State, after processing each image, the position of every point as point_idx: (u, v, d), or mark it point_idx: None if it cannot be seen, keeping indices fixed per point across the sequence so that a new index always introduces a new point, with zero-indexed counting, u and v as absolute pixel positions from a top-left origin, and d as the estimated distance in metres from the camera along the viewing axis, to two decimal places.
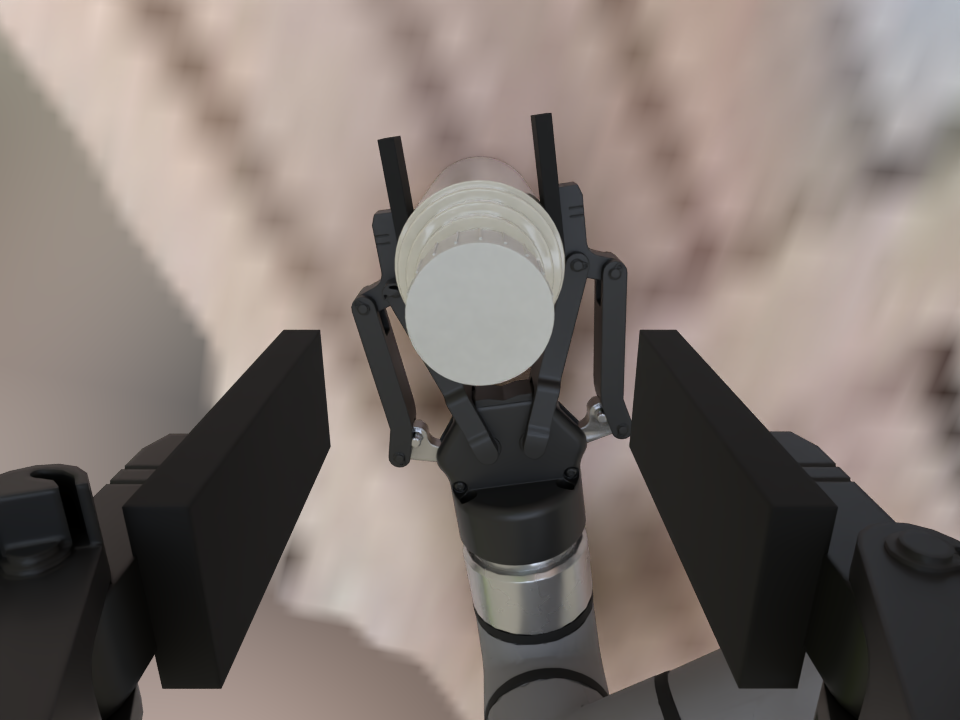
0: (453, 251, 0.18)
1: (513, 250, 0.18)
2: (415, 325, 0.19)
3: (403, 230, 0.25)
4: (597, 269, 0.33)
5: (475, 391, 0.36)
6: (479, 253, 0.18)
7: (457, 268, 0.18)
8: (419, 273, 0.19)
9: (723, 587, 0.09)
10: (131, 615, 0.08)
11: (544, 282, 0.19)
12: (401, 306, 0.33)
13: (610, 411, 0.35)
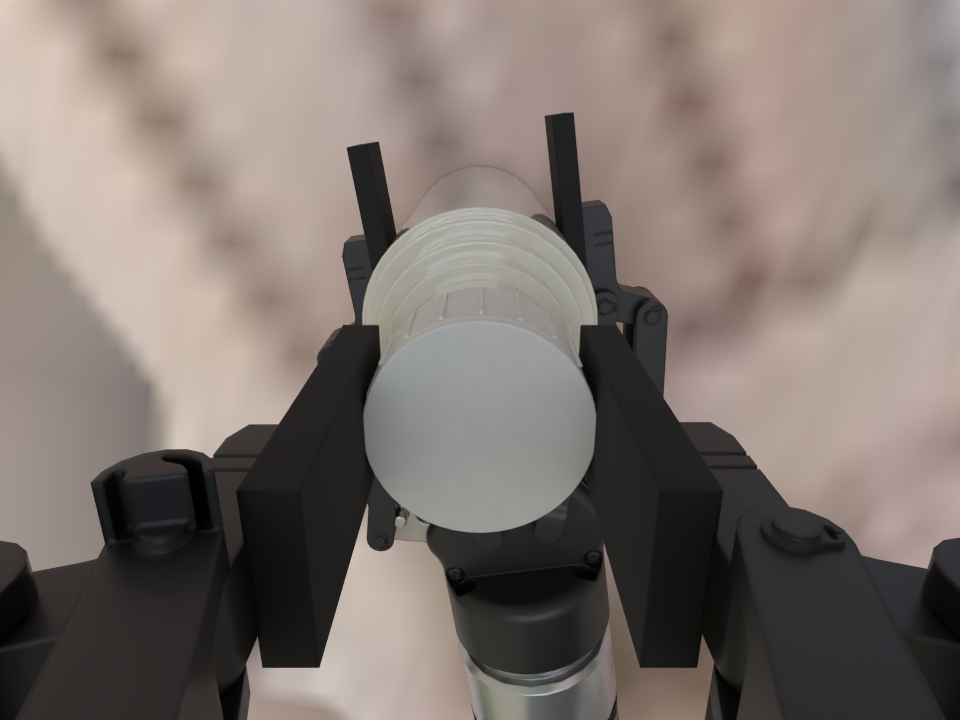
0: (437, 335, 0.11)
1: (534, 333, 0.11)
2: (378, 446, 0.12)
3: (373, 276, 0.18)
4: (629, 311, 0.26)
5: None
6: (479, 338, 0.11)
7: (444, 361, 0.12)
8: (383, 368, 0.12)
9: (630, 571, 0.09)
10: (243, 594, 0.08)
11: (583, 382, 0.12)
12: None
13: None
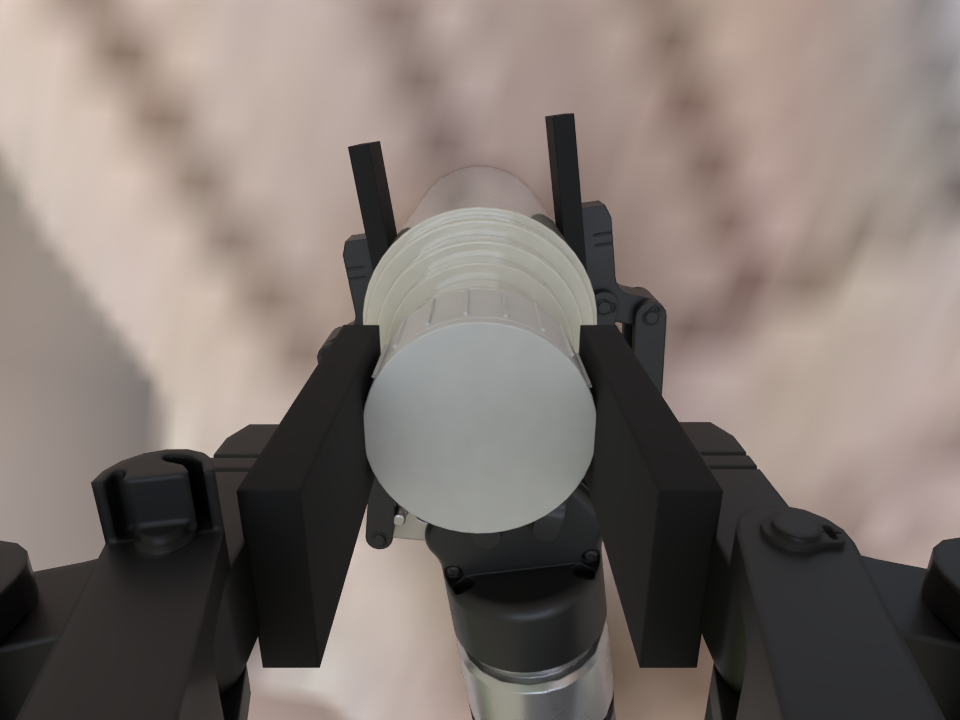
0: (389, 487, 0.12)
1: (364, 408, 0.12)
2: (513, 517, 0.13)
3: (374, 275, 0.18)
4: (628, 311, 0.26)
5: None
6: (382, 454, 0.12)
7: (412, 478, 0.12)
8: (433, 524, 0.13)
9: (630, 571, 0.09)
10: (243, 595, 0.08)
11: (400, 354, 0.11)
12: None
13: None
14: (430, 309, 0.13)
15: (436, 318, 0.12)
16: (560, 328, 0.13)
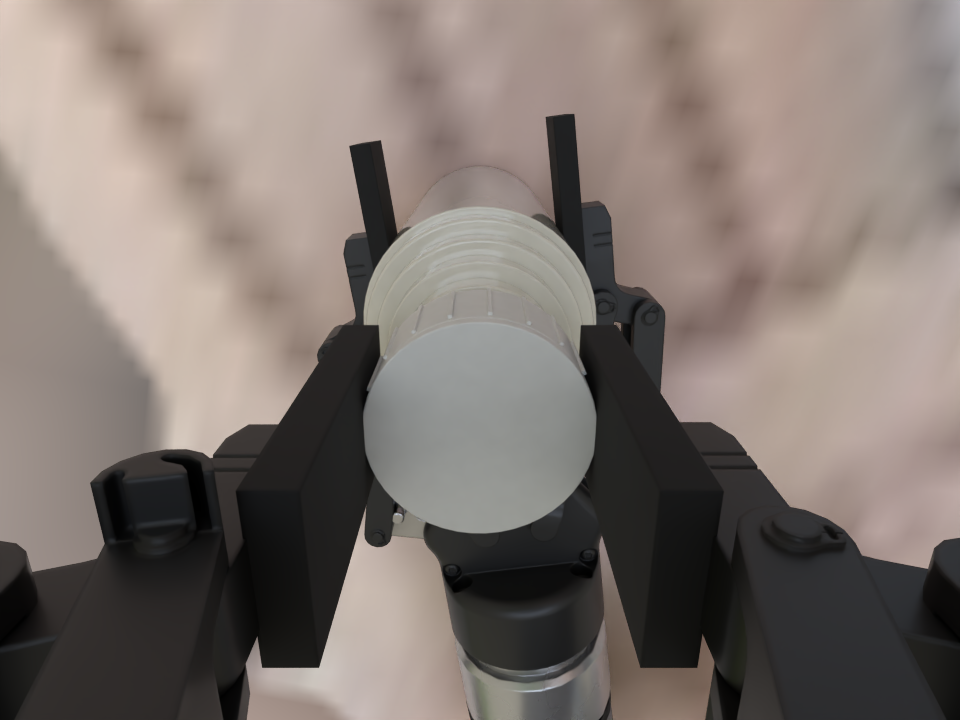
0: (555, 502, 0.13)
1: (476, 532, 0.13)
2: (569, 384, 0.12)
3: (375, 273, 0.18)
4: (627, 311, 0.26)
5: None
6: (519, 513, 0.13)
7: (541, 484, 0.12)
8: (591, 457, 0.12)
9: (630, 570, 0.09)
10: (242, 595, 0.08)
11: (414, 513, 0.13)
12: None
13: None
14: None
15: None
16: None
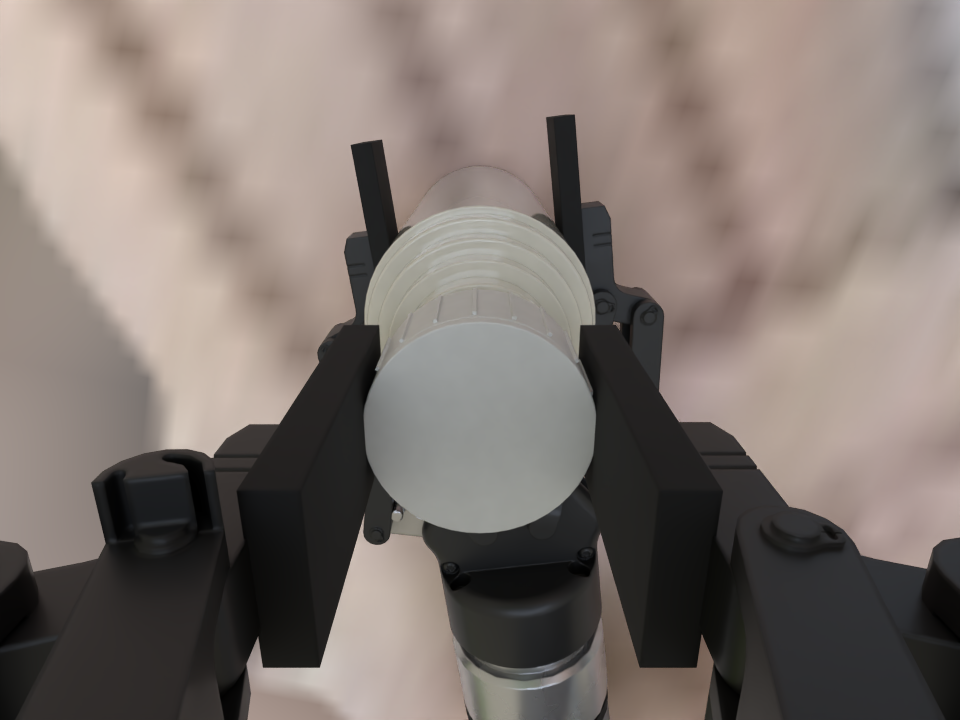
0: (543, 345, 0.11)
1: (595, 414, 0.12)
2: (405, 365, 0.12)
3: (376, 271, 0.18)
4: (626, 311, 0.26)
5: None
6: (563, 378, 0.12)
7: (523, 365, 0.12)
8: (481, 323, 0.11)
9: (630, 571, 0.09)
10: (243, 594, 0.08)
11: (581, 476, 0.12)
12: None
13: None
14: None
15: None
16: None
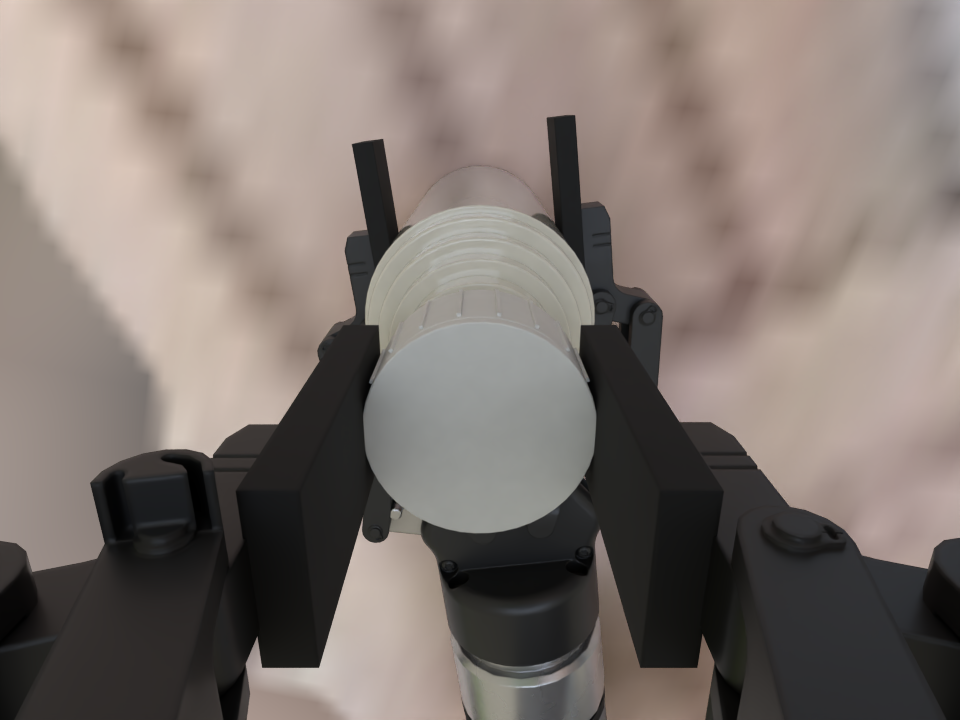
0: (373, 398, 0.12)
1: (432, 331, 0.11)
2: (425, 507, 0.13)
3: (377, 270, 0.18)
4: (625, 311, 0.26)
5: None
6: (401, 372, 0.12)
7: (397, 410, 0.12)
8: (367, 455, 0.12)
9: (631, 571, 0.09)
10: (242, 595, 0.08)
11: (505, 328, 0.11)
12: None
13: None
14: (535, 312, 0.13)
15: (543, 328, 0.12)
16: None
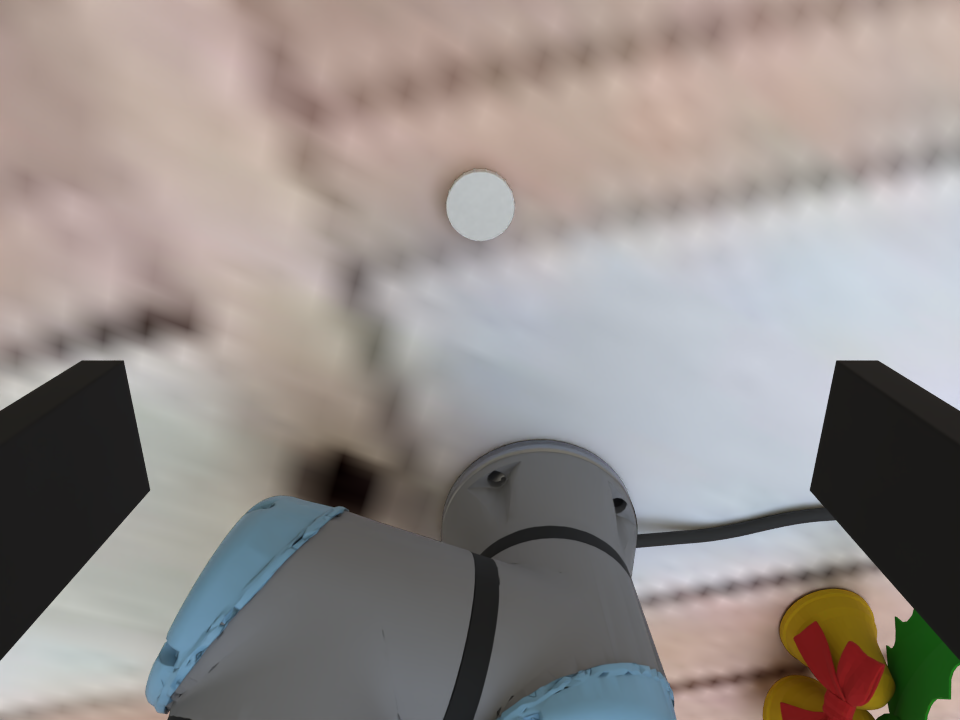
0: (449, 195, 0.41)
1: (467, 174, 0.41)
2: (464, 231, 0.42)
3: None
4: None
5: None
6: (458, 187, 0.41)
7: (456, 199, 0.41)
8: (447, 213, 0.42)
9: None
10: None
11: (487, 173, 0.41)
12: None
13: None
14: (496, 173, 0.42)
15: (498, 176, 0.42)
16: None
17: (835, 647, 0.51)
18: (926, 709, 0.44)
